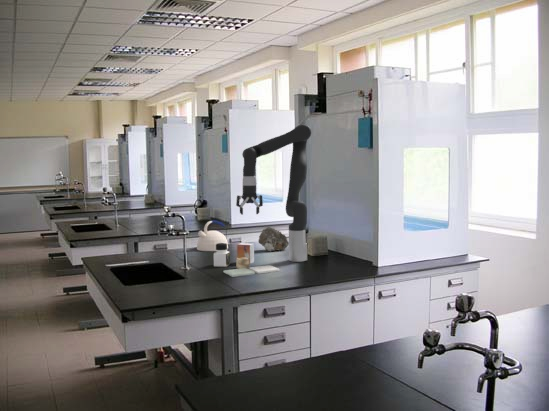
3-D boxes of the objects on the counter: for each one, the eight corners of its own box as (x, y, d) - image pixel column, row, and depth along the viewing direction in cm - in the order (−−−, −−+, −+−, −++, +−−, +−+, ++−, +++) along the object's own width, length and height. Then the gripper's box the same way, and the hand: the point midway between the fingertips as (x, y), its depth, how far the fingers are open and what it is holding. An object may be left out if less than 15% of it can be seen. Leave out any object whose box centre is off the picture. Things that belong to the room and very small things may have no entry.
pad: (269, 267, 293) (269, 265, 293) (279, 271, 282) (279, 269, 282) (248, 269, 288) (248, 267, 288) (258, 273, 277) (258, 271, 277)
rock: (271, 224, 334) (267, 217, 348) (255, 242, 335) (252, 234, 349) (293, 243, 339) (288, 235, 354) (277, 260, 340) (273, 252, 355)
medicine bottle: (226, 266, 296) (225, 244, 295) (213, 266, 298) (213, 244, 297) (230, 264, 303) (229, 242, 302) (217, 263, 305) (217, 242, 304)
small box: (237, 263, 305) (236, 244, 305) (241, 261, 311) (240, 242, 310) (250, 264, 302) (249, 244, 302) (254, 262, 308) (254, 243, 307)
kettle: (189, 249, 356) (189, 221, 354) (216, 245, 370) (215, 218, 368) (208, 252, 341) (207, 223, 339) (235, 248, 355) (234, 220, 353)
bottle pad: (245, 269, 287) (245, 268, 287) (254, 274, 276) (254, 272, 276) (223, 272, 282) (223, 270, 282) (232, 276, 271) (232, 274, 271)
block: (245, 266, 296) (244, 257, 296) (248, 268, 292) (248, 258, 291) (236, 267, 294) (236, 258, 293) (240, 269, 289) (239, 259, 289)
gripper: (260, 184, 308) (260, 213, 309) (235, 184, 305) (235, 214, 306) (263, 184, 301) (263, 214, 302) (237, 185, 297) (237, 215, 299)
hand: (249, 214), depth 304 cm, fingers open, 8 cm apart
